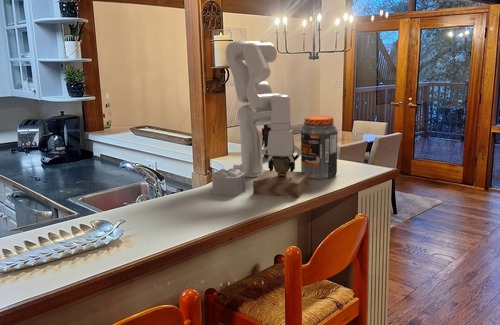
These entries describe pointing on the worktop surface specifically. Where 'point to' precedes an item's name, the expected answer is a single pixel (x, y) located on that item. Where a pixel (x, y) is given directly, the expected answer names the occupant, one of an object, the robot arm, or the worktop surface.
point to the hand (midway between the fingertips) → (281, 170)
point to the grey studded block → (228, 182)
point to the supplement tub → (319, 147)
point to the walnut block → (281, 184)
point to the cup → (281, 165)
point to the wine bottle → (265, 136)
